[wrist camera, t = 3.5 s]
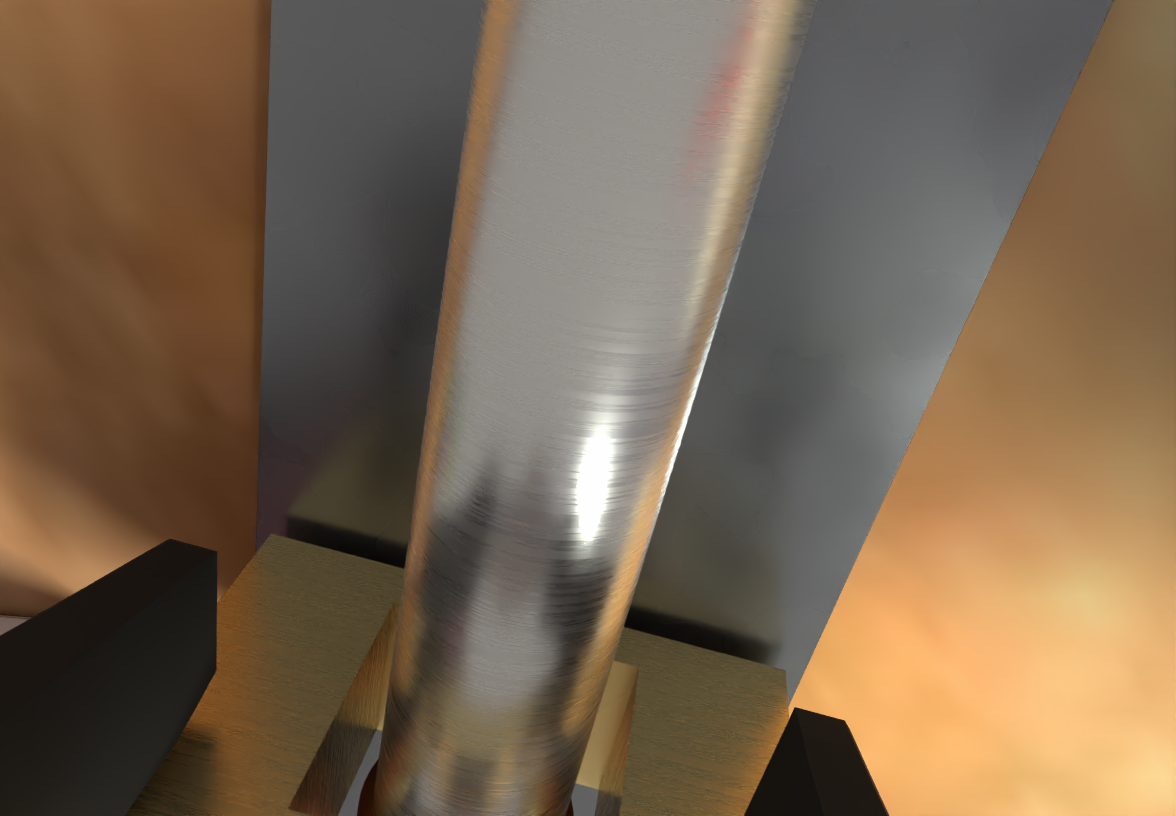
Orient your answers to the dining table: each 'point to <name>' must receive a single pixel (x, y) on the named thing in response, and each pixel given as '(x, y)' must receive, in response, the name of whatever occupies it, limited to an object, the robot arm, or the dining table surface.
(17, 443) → the dining table surface
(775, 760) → the robot arm
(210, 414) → the dining table surface
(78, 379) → the dining table surface
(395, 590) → the yellow block with hole
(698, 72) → the pipe stand
